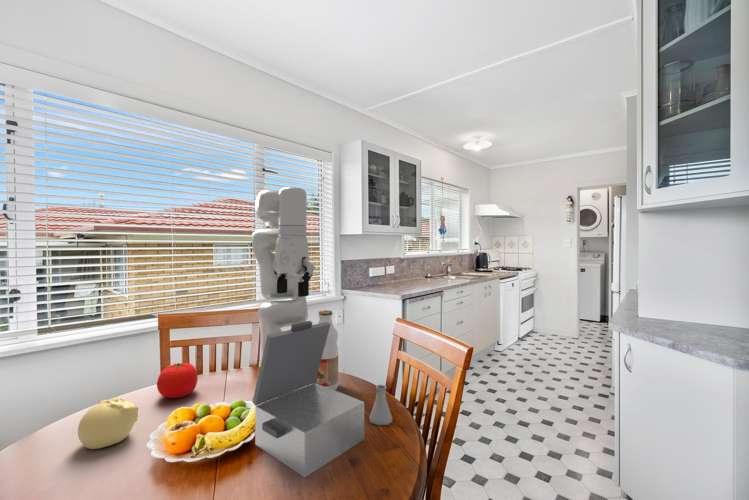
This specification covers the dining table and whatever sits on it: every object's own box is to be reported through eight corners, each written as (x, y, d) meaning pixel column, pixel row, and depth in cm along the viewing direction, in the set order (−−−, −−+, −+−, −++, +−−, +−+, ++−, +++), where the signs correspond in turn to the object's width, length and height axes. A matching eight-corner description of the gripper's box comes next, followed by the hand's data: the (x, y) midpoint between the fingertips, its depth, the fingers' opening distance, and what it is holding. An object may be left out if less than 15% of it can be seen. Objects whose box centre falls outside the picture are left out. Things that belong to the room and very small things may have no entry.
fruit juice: (340, 392, 122) (340, 313, 121) (313, 394, 119) (313, 314, 119) (336, 382, 131) (336, 308, 130) (311, 384, 128) (311, 309, 128)
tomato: (199, 386, 126) (199, 356, 126) (194, 400, 114) (194, 367, 114) (162, 390, 122) (162, 359, 122) (153, 406, 110) (153, 372, 110)
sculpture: (145, 433, 94) (145, 394, 94) (98, 459, 83) (98, 414, 83) (116, 426, 98) (116, 388, 98) (67, 449, 86) (67, 407, 86)
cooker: (246, 448, 87) (246, 409, 87) (320, 412, 106) (320, 380, 106) (295, 483, 74) (295, 437, 74) (369, 435, 93) (370, 398, 93)
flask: (391, 427, 98) (391, 392, 98) (366, 425, 99) (366, 390, 99) (394, 415, 105) (394, 382, 105) (371, 413, 106) (371, 381, 106)
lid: (255, 405, 89) (248, 397, 91) (314, 382, 104) (307, 376, 106) (272, 332, 84) (264, 325, 86) (331, 319, 99) (324, 313, 101)
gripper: (263, 233, 98) (262, 293, 98) (301, 231, 87) (301, 299, 87) (284, 233, 104) (284, 290, 104) (324, 232, 93) (323, 296, 93)
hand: (292, 294), depth 95 cm, fingers open, 9 cm apart
